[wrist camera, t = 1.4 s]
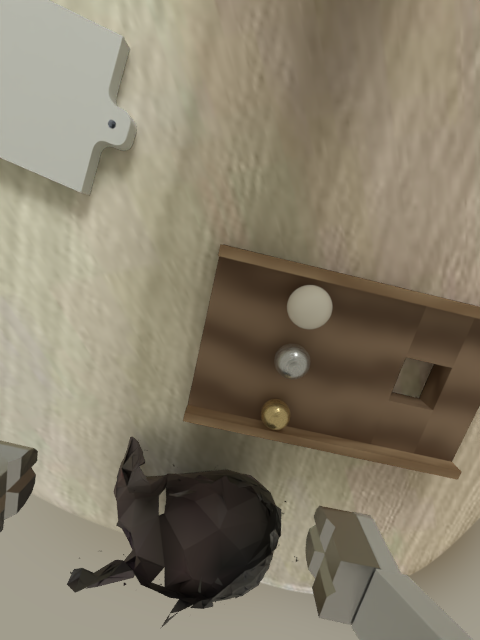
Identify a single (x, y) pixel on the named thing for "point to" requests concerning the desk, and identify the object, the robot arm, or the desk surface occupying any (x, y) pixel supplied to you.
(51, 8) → the mounting plate
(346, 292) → the board
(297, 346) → the steel ball
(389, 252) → the desk surface
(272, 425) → the brass ball
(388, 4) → the desk surface
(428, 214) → the desk surface
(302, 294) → the cream ball
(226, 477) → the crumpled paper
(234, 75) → the desk surface
